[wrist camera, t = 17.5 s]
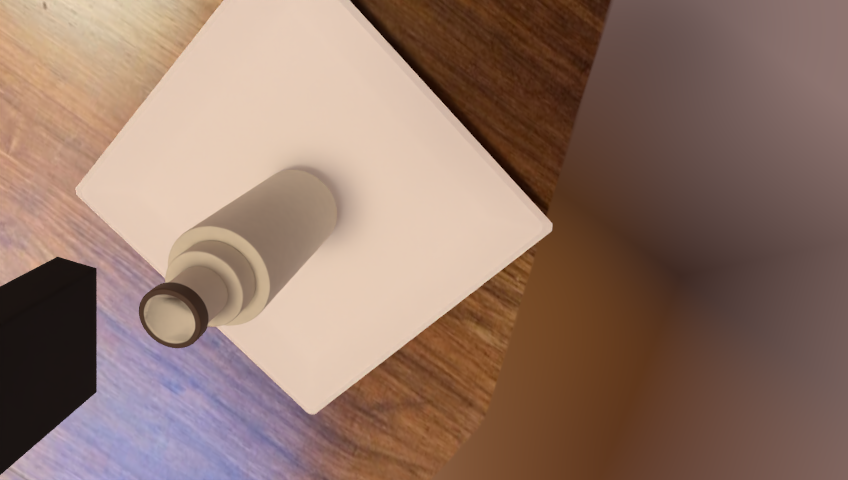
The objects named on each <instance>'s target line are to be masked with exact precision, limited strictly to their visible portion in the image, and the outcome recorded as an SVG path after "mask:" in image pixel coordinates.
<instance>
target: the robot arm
mask: <svg viewBox="0 0 848 480" xmlns="http://www.w3.org/2000/svg"><path fill="white" fill-rule="evenodd" d="M95 393H96V268H93V267H90V266H86V265H83V264H80V263H76V262H73V261H70V260H66V259H63V258H60V257H56V258H54V259H53V260H51V261H49V262H47V263H45V264H43V265H41V266H39V267H37V268H35V269H33V270H31V271H29V272H27V273H26V274H24V275H22V276H20V277H18V278H16V279H14V280H12V281H10V282H8V283H6V284H4V285H2V286H1V287H0V475H1V474H2V473H3V472H4V471H5V470H6V469H8V468H9V467H10V466H11V465H12V464H13V463H14V462H16V461H17V460H18V459H19V458H20V457H21V456H23V455H24V454H25V453H26V452H27V451H28V450H30V449H31V448H32V447H33V446H34V445H35V444H37V443H38V442H39V441H40V440H41V439H42V438H44V437H45V436H46V435H47V434H48V433H49V432H50V431H52V430H53V429H54V428H55V427H56V426H57V425H59V424H60V423H61V422H62V421H63V420H64V419H66V418H67V417H68V416H69V415H70V414H71V413H73V412H74V411H75V410H76V409H77V408H78V407H79V406H81V405H82V404H83V403H84V402H85V401H86V400H88V399H89V398H90V397H91V396H92V395H93V394H95Z"/></svg>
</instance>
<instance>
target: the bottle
mask: <svg viewBox="0 0 848 480" xmlns="http://www.w3.org/2000/svg"><path fill="white" fill-rule="evenodd" d="M336 221H337V208H336V203H335V200H334V198H333V195H332V193H331V192H330V190H329V189H328V187H327V186H326V185H325V184H324V183H323V182H322V181H321V180H320V179H318V178H317V177H315V176H314V175H312V174H310V173H308V172H305V171H301V170H293V169H292V170H284V171H280V172H278V173H276V174H274V175H272V176H271V177H269V178H268V179H266V180H265V181H263V182H261V183H260V184H258V185H257V186H255V187H254V188H252V189H251V190H249V191H248V192H246V193H245V194H243V195H241V196H240V197H238V198H237V199H235V200H234V201H232V202H231V203H229V204H228V205H226V206H225V207H223V208H221V209H220V210H218V211H217V212H215V213H214V214H212V215H211V216H209V217H208V218H206V219H205V220H203V221H201V222H200V223H198V224H197V225H195V226H194V227H192V228H191V229H189V230H188V231H186V232H185V233H183V234H182V235H181V236H180V237H179V238H178V239H177V240H176V241H175V243H174V244H173V246H172V248H171V250H170V254H169V257H168V268H167V271H166V276H165V283H163V284H160V285H158V286H156V287H155V288H154V289H152V290H151V291H149V292H148V293H147V294H146V295H145V296H144V297H143V299H142V300H141V303H140V306H139V316H140V320H141V323H142V325H143V327H144V329H145V330H146V331H147V333H148V334H149V335H150V336H151V337H152V338H153V339H154V340H156V341H157V342H159V343H161V344H163V345H165V346H168V347H172V348H183V347H187V346H189V345H191V344H193V343H194V342H195V341H196V340H197V339H198V338H199V337H200V336H201V335H202V334H203V333H204V332H205V330H206V329H207V326H209V327H216V326H222V325H226V326H233V325H240V324H243V323H246V322H249V321H251V320H252V319H254V318H255V317H257V316H258V315H259V314H260V313H261V312H262V311H263V310H264V309H265V307H266V306H267V305H268V304H269V303H270V302H271V301H272V300H273V298H274V297H275V296H276V295H277V294H278V293H279V292H280V291H281V290H282V288H283V287H284V286H285V285H286V284H287V283H288V282H289V281H290V280H291V278H292V277H293V276H294V275H295V274H296V273H297V272H298V271H299V269H300V268H301V267H302V266H303V265H304V264H305V263H306V262H307V261H308V259H309V258H310V257H311V256H312V255H313V254H314V253H315V252H316V251H317V249H318V248H319V247H320V246H321V245H322V244H323V243H324V242H325V241H326V239H327V238H328V237H329V236H330V235H331V233H332V232H333V230H334V227H335V225H336Z"/></svg>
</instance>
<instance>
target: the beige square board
mask: <svg viewBox="0 0 848 480" xmlns="http://www.w3.org/2000/svg"><path fill="white" fill-rule="evenodd" d="M292 169H293V170H301V171H305V172H308V173H310V174H312V175H314V176H315V177H317V178H318V179H320V180H321V181H322V182H323V183H324V184H325V185H326V186H327V187H328V189H329V190H330V192H331V193H332V195H333V198H334V200H335V203H336V208H337V221H336V225H335V227H334V230H333V232H332V233H331V235H330V236H329V237H328V238H327V239H326V241H325V242H324V243H323V244H322V245H321V246H320V247H319V248H318V249H317V251H316V252H315V253H314V254H313V255H312V256H311V257H310V258H309V259H308V261H307V262H306V263H305V264H304V265H303V266H302V267H301V268H300V269H299V271H298V272H297V273H296V274H295V275H294V276H293V277H292V278H291V280H290V281H289V282H288V283H287V284H286V285H285V286H284V287H283V288H282V290H281V291H280V292H279V293H278V294H277V295H276V296H275V297H274V298H273V300H272V301H271V302H270V303H269V304H268V305H267V306H266V307H265V309H264V310H263V311H262V312H261V313H260V314H259V315H258V316H257V317H255V318H254V319H252V320H251V321H249V322H246V323H243V324H240V325H233V326H226V325H222V326H216V327H217V328H218V329H219V330H220V331H221V332H222V333H223V334H225V335H226V336H227V337H228V338H229V339H230V340H231V341H232V342H233V343H234V344H235V345H236V346H237V347H238V348H239V349H240V350H241V351H243V352H244V353H245V354H246V355H247V356H248V357H249V358H250V359H251V360H252V361H253V362H254V363H255V364H256V365H257V366H258V367H259V368H261V369H262V370H263V371H264V372H265V373H266V374H267V375H268V376H269V377H270V378H271V379H272V380H273V381H274V382H275V383H276V384H277V385H279V386H280V387H281V388H282V389H283V390H284V391H285V392H286V393H287V394H288V395H289V396H290V397H291V398H292V399H293V400H294V401H296V402H297V403H298V404H299V405H300V406H301V407H302V408H303V409H304V410H305V411H306V412H307V413H308V414H316V413H317V412H318V411H320V410H321V409H322V408H324V407H325V406H326V405H327V404H329V403H330V402H331V401H333V400H334V399H335V398H336V397H338V396H339V395H340V394H342V393H343V392H344V391H346V390H347V389H348V388H349V387H351V386H352V385H353V384H355V383H356V382H357V381H358V380H360V379H361V378H362V377H364V376H365V375H366V374H368V373H369V372H370V371H371V370H373V369H374V368H375V367H377V366H378V365H379V364H380V363H382V362H383V361H384V360H386V359H387V358H388V357H390V356H391V355H392V354H393V353H395V352H396V351H397V350H399V349H400V348H401V347H402V346H404V345H405V344H406V343H408V342H409V341H410V340H411V339H413V338H414V337H415V336H417V335H418V334H419V333H421V332H422V331H423V330H424V329H426V328H427V327H428V326H430V325H431V324H432V323H433V322H435V321H436V320H437V319H439V318H440V317H441V316H443V315H444V314H445V313H446V312H448V311H449V310H450V309H452V308H453V307H454V306H455V305H457V304H458V303H459V302H461V301H462V300H463V299H465V298H466V297H467V296H468V295H470V294H471V293H472V292H474V291H475V290H476V289H477V288H479V287H480V286H481V285H483V284H484V283H485V282H487V281H488V280H489V279H490V278H492V277H493V276H494V275H496V274H497V273H498V272H499V271H501V270H502V269H503V268H505V267H506V266H507V265H509V264H510V263H511V262H512V261H514V260H515V259H516V258H518V257H519V256H520V255H521V254H523V253H524V252H525V251H527V250H528V249H529V248H531V247H532V246H533V245H534V244H536V243H537V242H538V241H540V240H541V239H542V238H543V237H545V236H546V235H547V234H549V233H550V232H551V231H552V223H551V222H550V220H549V219H548V218H547V217H546V216H545V215H544V214H543V213H542V212H541V210H540V209H539V208H538V207H537V206H536V205H535V204H534V203H533V202H532V201H531V199H530V198H529V197H528V196H527V195H526V194H525V193H524V192H523V191H522V190H521V188H520V187H519V186H518V185H517V184H516V183H515V182H514V181H513V180H512V178H511V177H510V176H509V175H508V174H507V173H506V172H505V171H504V170H503V169H502V167H501V166H500V165H499V164H498V163H497V162H496V161H495V160H494V159H493V158H492V156H491V155H490V154H489V153H488V152H487V151H486V150H485V149H484V148H483V147H482V145H481V144H480V143H479V142H478V141H477V140H476V139H475V138H474V137H473V136H472V134H471V133H470V132H469V131H468V130H467V129H466V128H465V127H464V126H463V125H462V123H461V122H460V121H459V120H458V119H457V118H456V117H455V116H454V115H453V114H452V112H451V111H450V110H449V109H448V108H447V107H446V106H445V105H444V104H443V103H442V101H441V100H440V99H439V98H438V97H437V96H436V95H435V94H434V93H433V92H432V90H431V89H430V88H429V87H428V86H427V85H426V84H425V83H424V82H423V81H422V79H421V78H420V77H419V76H418V75H417V74H416V73H415V72H414V71H413V69H412V68H411V67H410V66H409V65H408V64H407V63H406V62H405V61H404V60H403V58H402V57H401V56H400V55H399V54H398V53H397V52H396V51H395V50H394V49H393V47H392V46H391V45H390V44H389V43H388V42H387V41H386V40H385V39H384V38H383V36H382V35H381V34H380V33H379V32H378V31H377V30H376V29H375V28H374V27H373V25H372V24H371V23H370V22H369V21H368V20H367V19H366V18H365V17H364V16H363V14H362V13H361V12H360V11H359V10H358V9H357V8H356V7H355V6H354V5H353V3H352V2H351V1H350V0H223V2H222V3H221V4H220V5H219V7H218V8H217V9H216V11H215V12H214V13H213V14H212V16H211V17H210V18H209V19H208V21H207V22H206V23H205V24H204V26H203V27H202V28H201V30H200V31H199V32H198V33H197V35H196V36H195V37H194V38H193V40H192V41H191V42H190V43H189V45H188V46H187V47H186V49H185V50H184V51H183V52H182V54H181V55H180V56H179V57H178V59H177V60H176V61H175V63H174V64H173V65H172V66H171V68H170V69H169V70H168V71H167V73H166V74H165V75H164V76H163V78H162V79H161V80H160V82H159V83H158V84H157V85H156V87H155V88H154V89H153V90H152V92H151V93H150V94H149V96H148V97H147V98H146V99H145V101H144V102H143V103H142V104H141V106H140V107H139V108H138V109H137V111H136V112H135V113H134V115H133V116H132V117H131V118H130V120H129V121H128V122H127V123H126V125H125V126H124V127H123V128H122V130H121V131H120V132H119V134H118V135H117V136H116V137H115V139H114V140H113V141H112V142H111V144H110V145H109V146H108V148H107V149H106V150H105V151H104V153H103V154H102V155H101V156H100V158H99V159H98V160H97V161H96V163H95V164H94V165H93V167H92V168H91V169H90V170H89V172H88V173H87V174H86V175H85V177H84V178H83V179H82V181H81V182H80V183H79V184H78V186H77V187H76V188H75V189H76V194H77V196H78V197H79V198H80V199H81V200H82V201H84V202H85V203H86V204H87V205H88V206H89V207H90V208H91V209H92V210H93V211H94V212H95V213H96V214H97V215H98V216H99V217H101V218H102V219H103V220H104V221H105V222H106V223H107V224H108V225H109V226H110V227H111V228H112V229H113V230H114V231H115V232H116V233H117V234H119V235H120V236H121V237H122V238H123V239H124V240H125V241H126V242H127V243H128V244H129V245H130V246H131V247H132V248H133V249H134V250H135V251H137V252H138V253H139V254H140V255H141V256H142V257H143V258H144V259H145V260H146V261H147V262H148V263H149V264H150V265H151V266H152V267H154V268H155V269H156V270H157V271H158V272H159V273H160V274H161V275H162V276H163V277H164V278H165V276H166V271H167V268H168V257H169V254H170V250H171V248H172V246H173V244H174V243H175V241H176V240H177V239H178V238H179V237H180V236H181V235H182V234H183V233H185V232H186V231H188V230H189V229H191V228H192V227H194V226H195V225H197V224H198V223H200V222H201V221H203V220H205V219H206V218H208V217H209V216H211V215H212V214H214V213H215V212H217V211H218V210H220V209H221V208H223V207H225V206H226V205H228V204H229V203H231V202H232V201H234V200H235V199H237V198H238V197H240V196H241V195H243V194H245V193H246V192H248V191H249V190H251V189H252V188H254V187H255V186H257V185H258V184H260V183H261V182H263V181H265V180H266V179H268V178H269V177H271V176H272V175H274V174H276V173H278V172H280V171H284V170H292Z"/></svg>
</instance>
